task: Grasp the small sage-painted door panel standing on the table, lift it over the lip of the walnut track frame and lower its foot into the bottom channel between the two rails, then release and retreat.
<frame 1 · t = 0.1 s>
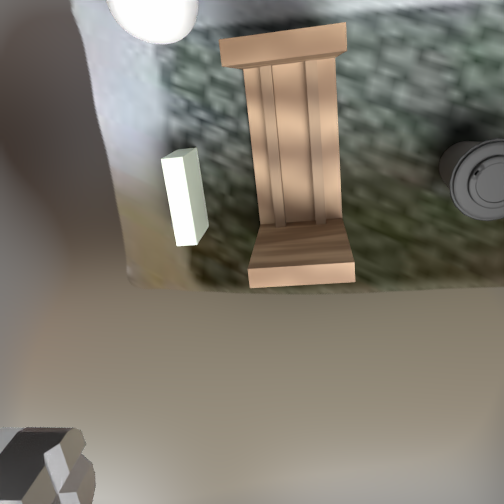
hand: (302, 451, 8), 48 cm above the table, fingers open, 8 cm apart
coffee cup: (462, 164, 52), on the table
sauce bottle: (173, 8, 49), on the table
door panel: (193, 188, 56), on the table
track frame: (295, 146, 53), on the table
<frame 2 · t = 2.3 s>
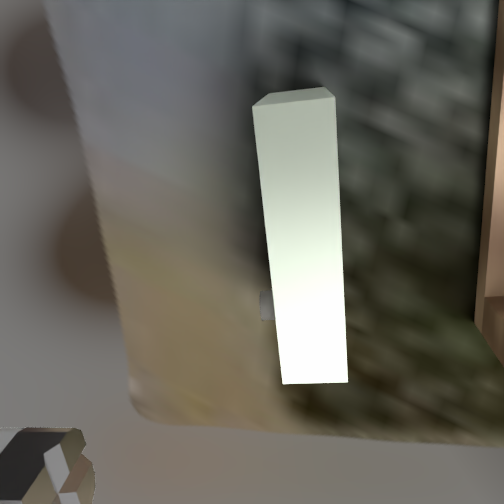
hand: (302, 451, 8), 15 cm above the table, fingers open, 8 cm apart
door panel: (304, 201, 21), on the table
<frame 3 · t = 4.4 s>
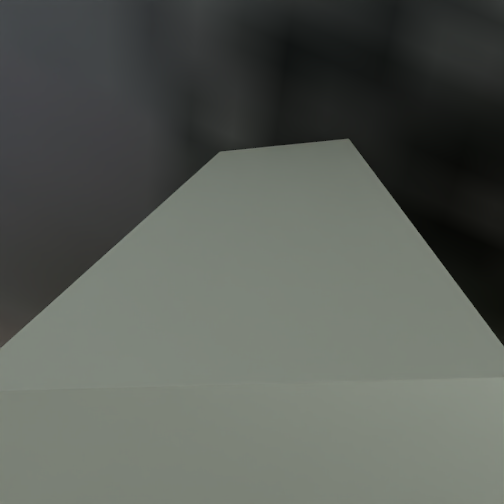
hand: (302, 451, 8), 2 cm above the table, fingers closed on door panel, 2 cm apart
door panel: (302, 370, 10), on the table, touching gripper
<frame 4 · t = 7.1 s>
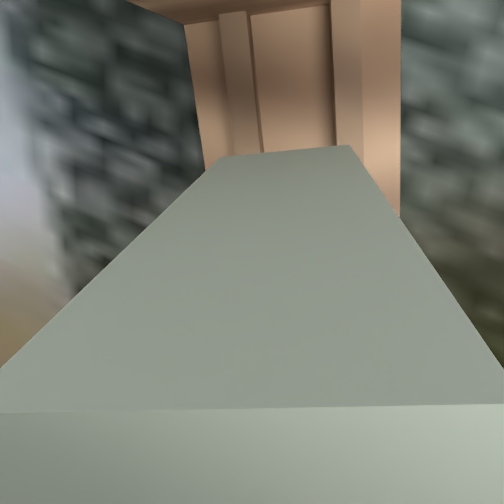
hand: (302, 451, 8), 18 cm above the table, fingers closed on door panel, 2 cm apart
door panel: (302, 375, 10), point 16 cm above the table, touching gripper
track frame: (302, 195, 25), on the table
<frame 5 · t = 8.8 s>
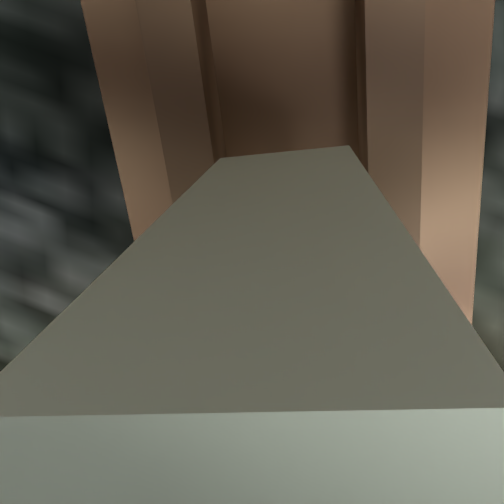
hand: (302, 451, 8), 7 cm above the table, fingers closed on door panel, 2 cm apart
door panel: (302, 375, 10), point 5 cm above the table, touching gripper
track frame: (302, 267, 15), on the table
when the fingers open (5 cm above the table, at t = 10.0 s): door panel drops 1 cm, resting on track frame.
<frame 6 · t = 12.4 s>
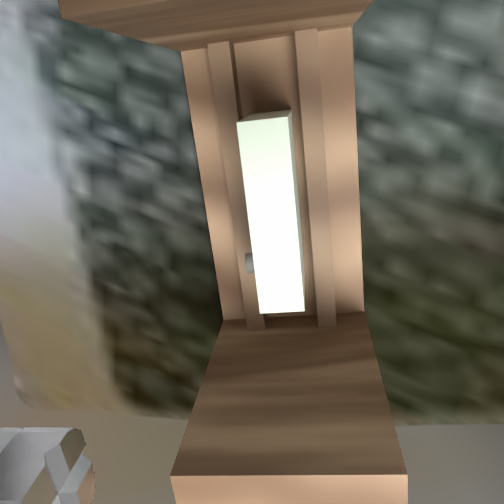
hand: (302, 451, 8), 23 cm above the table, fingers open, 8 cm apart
door panel: (279, 192, 29), point 1 cm above the table, touching track frame
track frame: (280, 188, 30), on the table
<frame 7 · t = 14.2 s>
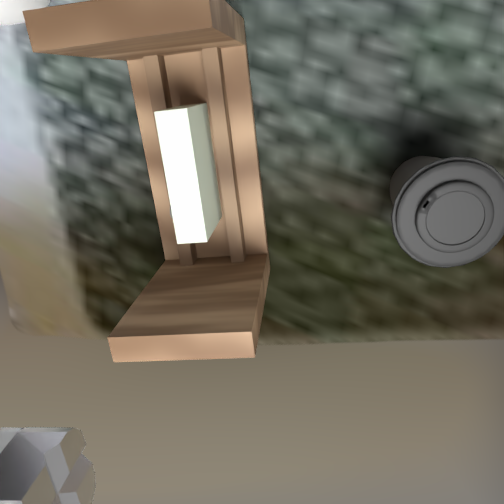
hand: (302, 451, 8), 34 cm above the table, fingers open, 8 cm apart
coffee cup: (419, 185, 40), on the table
door panel: (201, 163, 40), point 1 cm above the table, touching track frame
track frame: (203, 161, 41), on the table
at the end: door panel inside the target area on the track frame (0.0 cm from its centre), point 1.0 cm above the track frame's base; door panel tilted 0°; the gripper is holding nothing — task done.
